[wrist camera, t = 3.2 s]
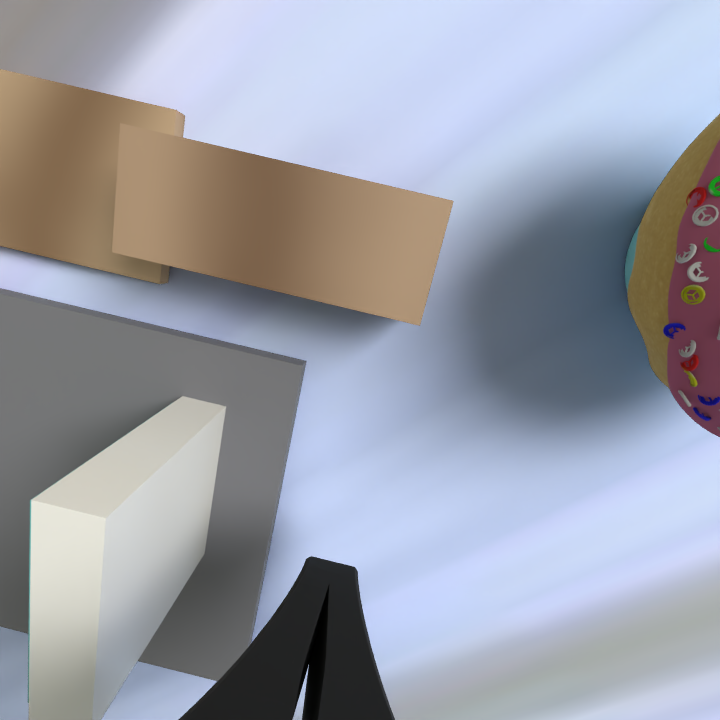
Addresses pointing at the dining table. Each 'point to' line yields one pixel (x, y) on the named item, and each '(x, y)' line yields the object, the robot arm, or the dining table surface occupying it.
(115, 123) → the overlapping tan boards
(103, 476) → the block
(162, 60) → the dining table surface
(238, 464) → the mat
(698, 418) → the cupcake
